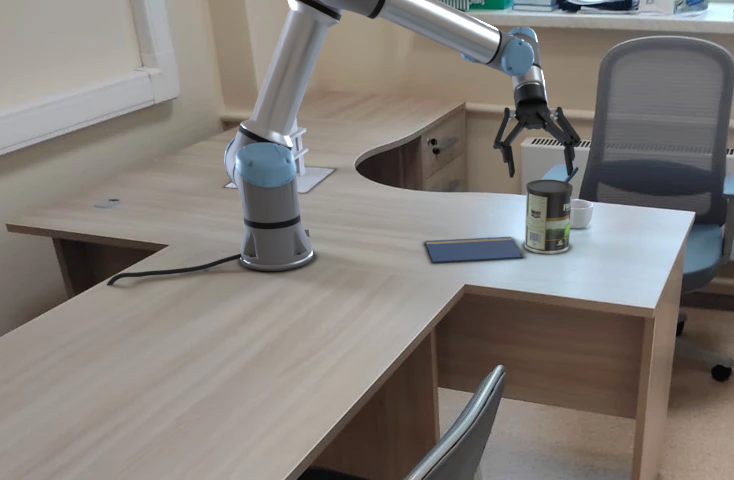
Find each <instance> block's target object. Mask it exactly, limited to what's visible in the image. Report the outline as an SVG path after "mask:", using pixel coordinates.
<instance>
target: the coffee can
mask: <svg viewBox="0 0 734 480" xmlns="http://www.w3.org/2000/svg"><path fill="white" fill-rule="evenodd" d="M525 189H526V197H525V198H526V199H525V225H524V226H525V227H524V230H525V231H524V244H523V245H524V248H525V249H526V250H527V251H529V252H532V253H536V254H542V255H555V254H562V253H564V252H566V251H568V250H569V248H570V245H569V244H570V229H571V228H570V214H571V199H573V198H572V196H573V190H574V186H573V185H572V184H571V183H569V182H567V181H563V180H559V179H536V180H531V181H529V182H527V183H526V184H525Z"/></svg>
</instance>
